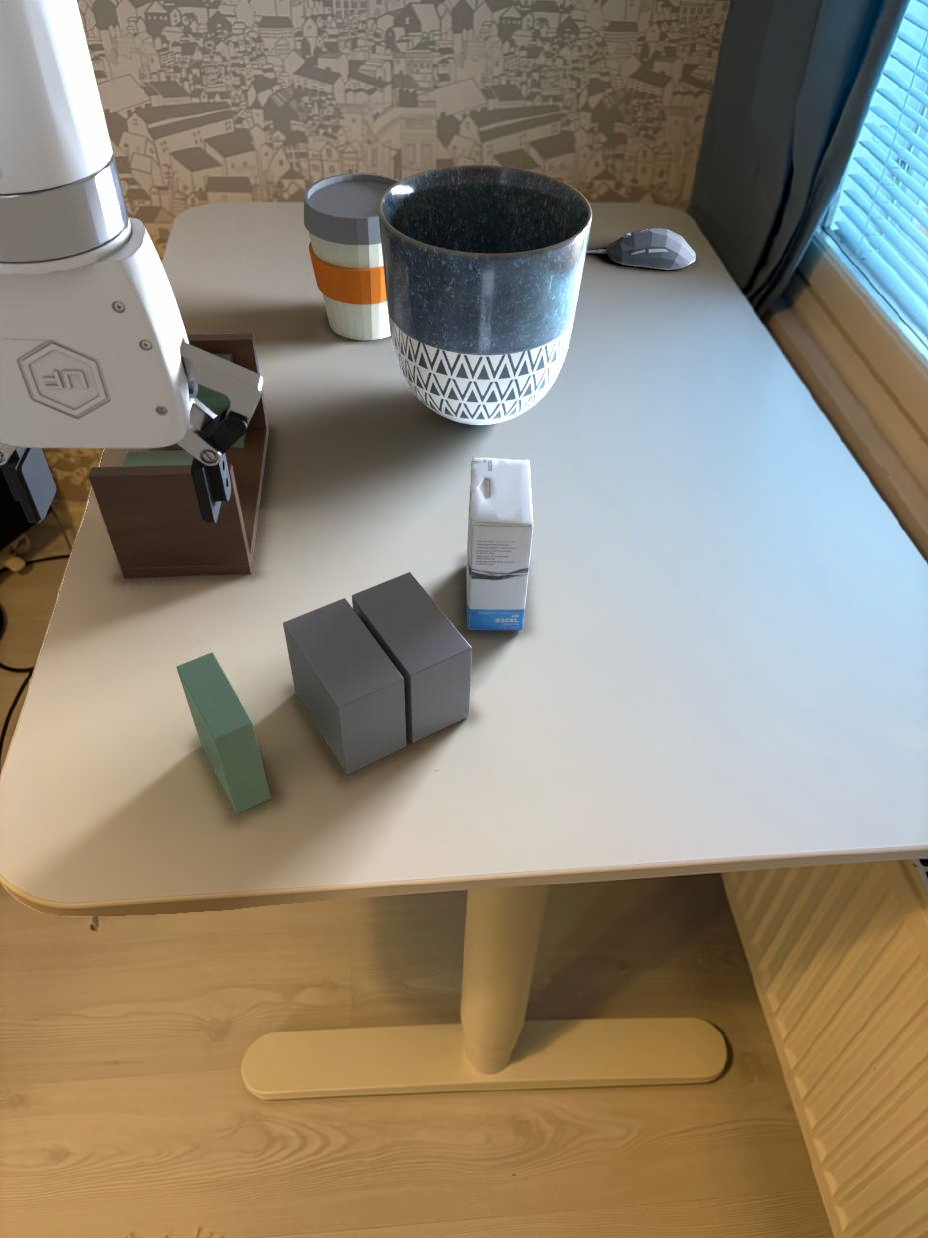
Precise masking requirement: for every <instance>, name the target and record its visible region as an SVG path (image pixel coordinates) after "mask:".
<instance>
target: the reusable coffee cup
mask: <svg viewBox="0 0 928 1238" xmlns="http://www.w3.org/2000/svg"><path fill="white" fill-rule="evenodd" d="M400 180H401V179H398V178H394V177H393V176H388V175H385V174H384V175H383V174H378V173H368V172H367V173H366V172H351V173H350V172H349V173H341V174H336V175H330V176H328V177H324V178H321V179H319V180H317V181H314V183H311V184H310V185H309V186H308V187H307V188H306V189H305V190H304V193H303V225H304V227H305V229H306V230H307V232H308V235H309V240H310V241H309V243H308V252H309V257H310V262H311V265H312V269H313V273H314V277H315V282H316V283H315V284H316V286H317V288H318V290H319V291H320V293H321V294H322V297H323V301H324V306H325V311H326V315H327V319H328V323H329V327H330V328H331V330H332V331H333V332H334V333H335V334H337V335H338V336H341V337H343V338H346V339H349V340H354V341H355V340H356V341H377V340H381V339H385V338H388V337H391V335H390V327H389V318H388V308H387V299H386V290H385V278H384V267H383V257H382V248H381V240H380V227H379V213H378V205H379V201H380V199H381V197H382V195H383V194H384V192H385V191H386V190H387V189H388V188H390V187H391V186H392V185H393V184H395V183H397V182H398V181H400Z"/></svg>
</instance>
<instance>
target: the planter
mask: <svg viewBox="0 0 928 1238" xmlns="http://www.w3.org/2000/svg"><path fill="white" fill-rule="evenodd" d="M399 180H400V181H398V182H397V183H395V184H393V185H392V186H391V187H390V188H388V189H387V190H386V191H385V192H384V194H383V195H382V197H381V199H380V201H379V205H378V213H379V227H380V240H381V248H382V257H383V267H384V278H385V290H386V299H387V308H388V318H389V327H390V341H391V346H392V350H393V354H394V357H395V361H396V364H397V366H398V369H399V372H400V374H401V376H402V378H403V380H404V382H405V384H406V385H407V387H408V388H409V389H410V391H411V393H412V394H413V395H414V396H415V397H416V398H417V399H418V400H419V401H420V402H421V403H422V404H423V405H425V406H426V407H427V408H428V409H429V410H431V411H433V412H434V413H436V414H437V415H439V416H441V417H442V418H445V419H447V420H450V421H452V422H456V423H459V424H463V425H469V426H488V425H496V424H500V423H503V422H507V421H509V420H512V419H514V418H517V417H519V416H521V415H522V414H524V413H526V412H527V411H528V410H530V409H531V408H532V407H534V406H536V405H537V404H538V403H539V402H540V401H541V400H542V399H543V398H544V397H545V396H546V395H547V393H548V392H549V390H550V389H551V388H552V386H553V385H554V383H555V382H556V380H557V377H558V375H559V374H560V371H561V369H562V367H563V364H564V362H565V358H566V356H567V353H568V349H569V345H570V342H571V338H572V337H571V335H572V330H573V327H574V325H573V324H574V321H575V315H576V310H577V306H578V300H579V295H580V294H579V293H580V290H581V289H580V287H581V284H582V283H581V282H582V277H583V272H584V265H585V260H586V256H587V253H586V251H588V245H589V239H590V232H591V227H592V220H593V211H592V210H593V209H592V207H591V204H590V202H589V200H588V199H587V198H586V197H585V196H584V195H583V194H582V193H581V192H580V191H579V190H578V189H576V188H575V187H573V186H571V185H570V184H568V183H566V182H564V181H562V180H560V179H557V178H555V177H552V176H549V175H547V174H543V173H540V172H537V171H533V170H528V169H523V168H518V167H511V166H503V165H493V164H492V165H489V164H464V165H452V166H444V167H437V168H431V169H428V170H424V171H421V172H418V173H414V174H411V175H408V176H407V177H404V178H402V179H399Z"/></svg>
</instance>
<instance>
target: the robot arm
mask: <svg viewBox="0 0 928 1238" xmlns="http://www.w3.org/2000/svg"><path fill="white" fill-rule="evenodd" d="M79 8H80V7H79V5H78V1H77V0H0V470H1V472H2V474H3V476H4V479H5V481H6V483H7V486H8V488H9V490H10V493H11V495H12V498H13V499H14V501H15V502H19V503H20V506H21V508H22V511H23V513H24V515H25V517H26V520H27V522H28V523H29V524H40V523H41V522H42V521H45V518H46V516H47V514H48V511H49V509H50V507H51V505H52V502H53V500H54V498H55V495H56V493H57V486H56V483H55V480H54V478H53V474H52V472H51V469H50V467H49V464H48V461H47V459H46V457H45V454H44V452H43V449H89V450H91V449H93V450H94V449H96V450H97V449H99V450H100V449H101V450H102V449H103V450H104V449H105V450H106V449H107V450H109V449H112V450H113V449H115V450H116V449H117V450H118V449H119V450H120V449H121V450H122V449H127V450H129V449H130V450H132V449H133V450H137V449H139V450H140V449H152V448H161V447H167V446H170V445H173V444H176V443H177V444H178V445H179V446H181V447H182V448H183V449H184V450H186V451H187V452H188V453H190V454H191V455H192V456H193V457H194V458H193V461H192V465H191V475H192V479H193V483H194V487H195V492H196V496H197V500H198V504H199V508H200V512H201V517H202V520H203V521H206V523H216V522H217V518H218V514H219V510H220V506H221V502H228V501H229V499H230V495H231V481H230V475H229V471H228V466H227V461H226V456H225V452H226V451H227V450H228V449H229V448H230V447H231V446H232V445H233V444H234V443H235V442H236V441H237V440H239V439H240V438H241V437H242V436H243V435H244V434H245V432H246V428H247V426H248V424H249V421H250V419H251V418H252V416H253V413H254V411H255V409H256V407H257V404H258V402H259V400H260V398H261V393H262V390H263V388H264V383H265V380H264V378H263V376H262V375H261V374H260V375H259V374H258V373H256V372H253V371H251V370H249V369H246V368H244V367H242V366H239V365H237V364H235V363H232V362H230V361H228V360H225V359H223V358H221V357H218V356H216V355H214V354H211V353H209V352H207V351H204V350H202V349H200V348H197V347H195V346H193V345H190V344H189V341H188V338H187V334H188V333H187V332H186V328H185V325H184V322H183V319H182V315H181V312H180V308H179V306H178V303H177V300H176V297H175V294H174V292H173V289H172V286H171V283H170V281H169V278H168V275H167V273H166V271H165V268H164V266H163V263H162V261H161V258H160V256H159V253H158V251H157V249H156V247H155V244H154V242H153V241H152V239H151V236H150V234H149V232H148V231H147V228H146V226H145V224H144V223H143V221H142V220H141V219H139V218H137V217H129V212H128V208H127V203H126V199H125V196H124V195H125V194H124V191H123V187H122V183H121V179H120V174H119V170H118V167H117V161H116V158H115V153H114V150H113V147H112V143H111V138H110V135H109V130H108V127H107V121H106V117H105V113H104V109H103V105H102V101H101V96H100V92H99V88H98V84H97V79H96V76H95V70H94V67H93V63H92V59H91V53H90V50H89V46H88V43H87V38H86V34H85V29H84V25H83V21H82V17H81V13H80V9H79ZM198 384H199V385H202V386H204V387H207V388H209V389H212V390H214V391H216V392H219V393H221V394H224V395H225V396H227V397H228V398H229V399H230V403H229V404H228V405H227V406H226V407H225V408H224V409H223V410H222V411H221V412H220V413H219V414H218V415H216V414H215V413H214V412H212V411H211V410H210V409H209V408H208V407H206V406H205V405H204V404H203V403H202V402H200V401H199V400H198V399H197V398H196V396H197V393H198Z"/></svg>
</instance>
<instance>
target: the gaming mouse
mask: <svg viewBox="0 0 928 1238" xmlns="http://www.w3.org/2000/svg"><path fill="white" fill-rule="evenodd" d="M586 254H597V255H607V256H608V257H609V259H611V260H612V261H613V263H614V262H615V263H617V264H620V265H623V266H633V267H639V268H649V269H656V270H665V271H666V270H667V271H670V270H679V269H683V268H686V267H687V266H689V265H692V264H693V263H694V262H695V261H696V259H697V257H696V256H697V255H696V254H697V253H696V252H695V250H694V249H693V248H692V247H691V246H690V244H688V242H687V241H686V240H685V238H684V237H683V236H682V235H681V234H679V233H677V232H675V231H672V230H670V229H668V228H657V227H650V228H646V229H641V230H635V231H631V232H626V233H624V234H623V236H621V237H619V238H618V239H616V240H614V241H613V242H610V243H609V244H608V245H607V246H606V249H603V248H601V249H600V248H599V249H596V250H592V249H591V250H588V249H587V251H586Z"/></svg>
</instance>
